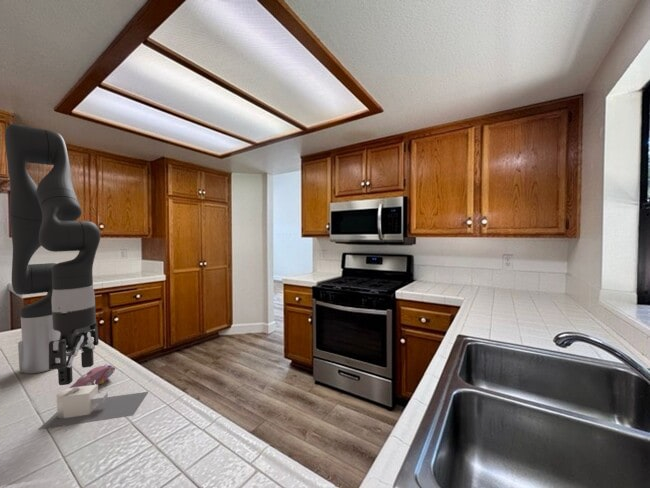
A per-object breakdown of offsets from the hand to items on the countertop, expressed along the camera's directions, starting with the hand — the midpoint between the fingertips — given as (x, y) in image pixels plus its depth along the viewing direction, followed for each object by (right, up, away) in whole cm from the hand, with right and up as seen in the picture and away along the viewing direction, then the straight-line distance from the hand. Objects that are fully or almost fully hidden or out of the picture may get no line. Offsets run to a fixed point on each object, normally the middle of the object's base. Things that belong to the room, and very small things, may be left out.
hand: (77, 374), depth 66 cm
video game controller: (-6, -9, +12) cm, 16 cm away
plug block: (0, -9, +1) cm, 9 cm away
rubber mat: (+4, -9, +2) cm, 10 cm away
